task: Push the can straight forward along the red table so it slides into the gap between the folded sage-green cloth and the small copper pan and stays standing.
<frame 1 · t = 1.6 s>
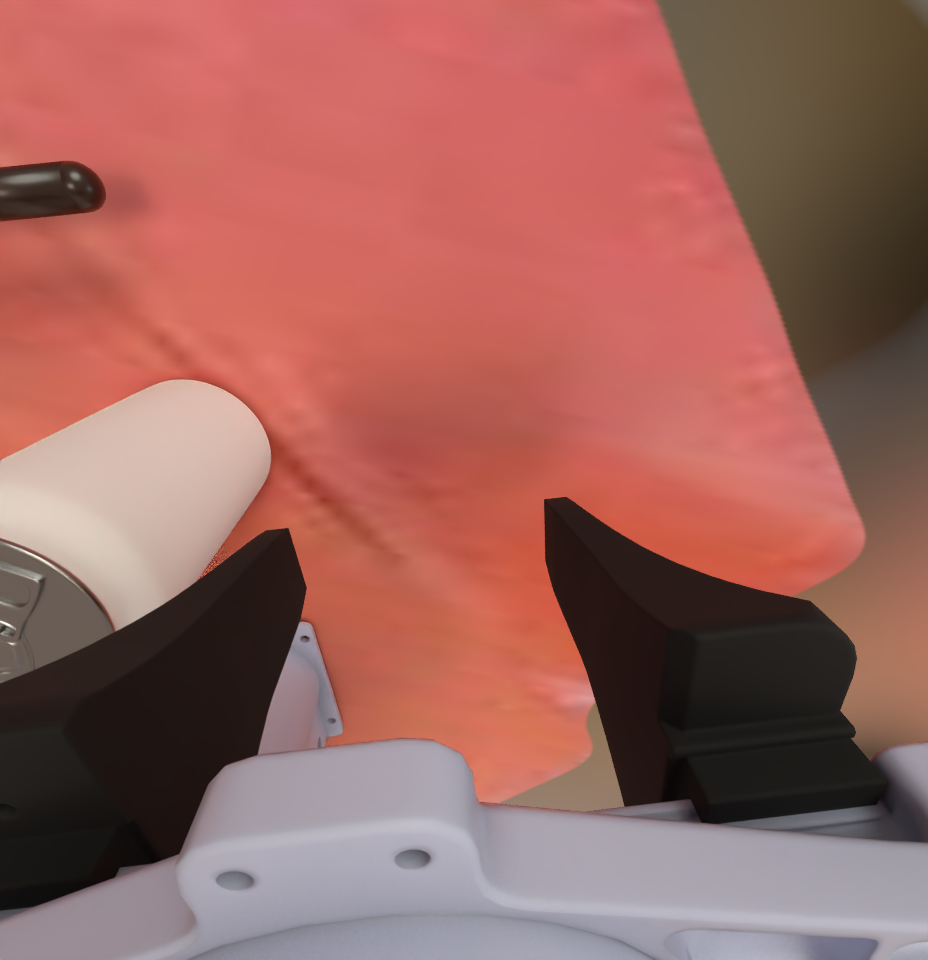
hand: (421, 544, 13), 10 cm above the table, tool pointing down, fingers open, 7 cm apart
can: (204, 443, 22), on the table
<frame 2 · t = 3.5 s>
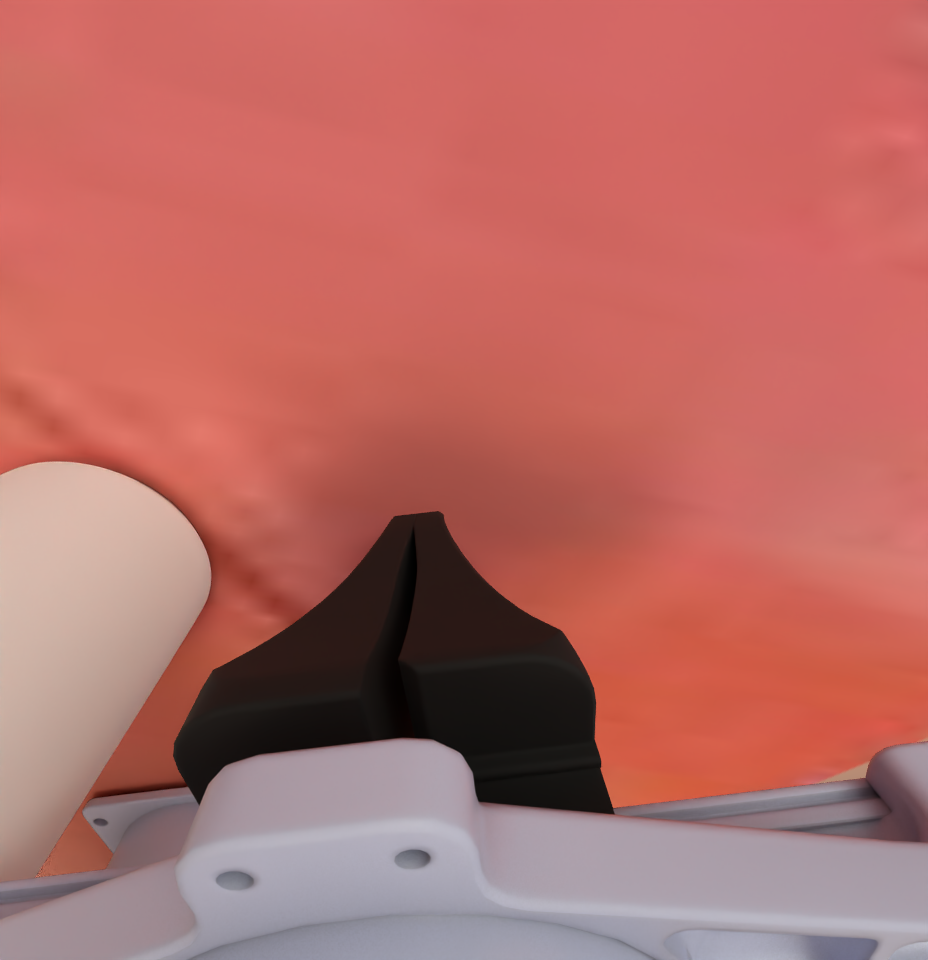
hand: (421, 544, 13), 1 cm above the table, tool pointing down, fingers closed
can: (108, 549, 14), on the table
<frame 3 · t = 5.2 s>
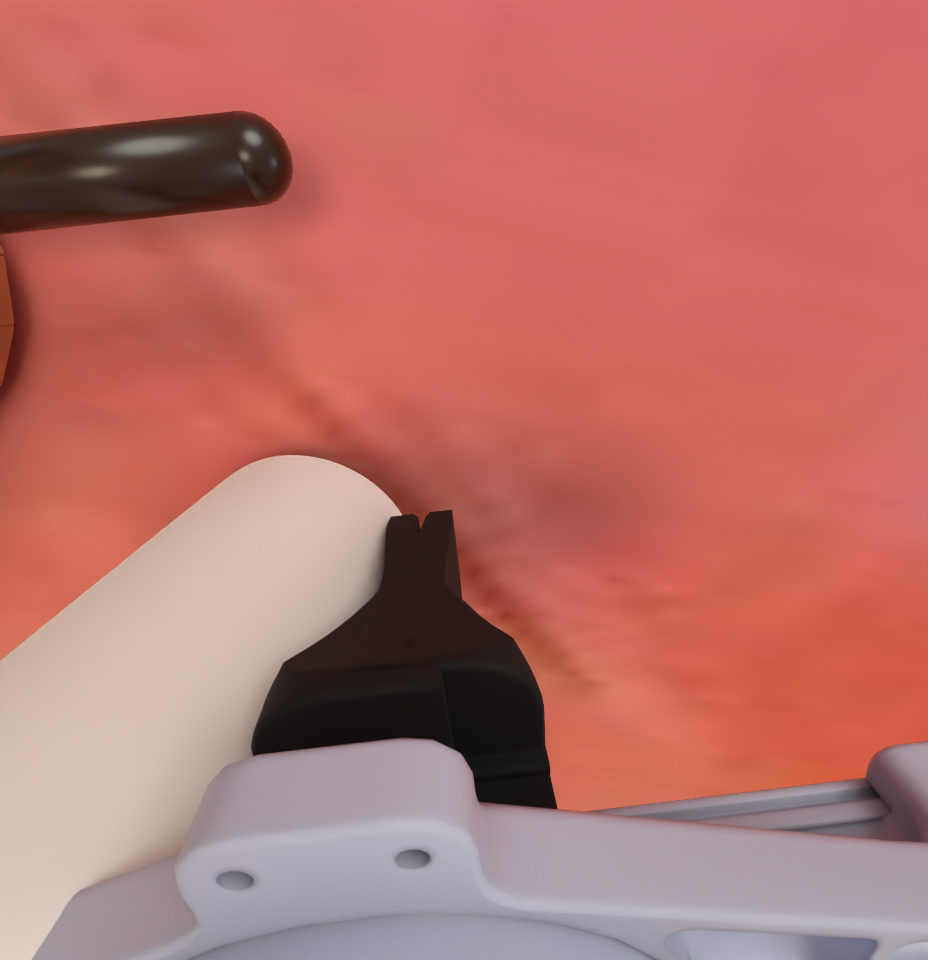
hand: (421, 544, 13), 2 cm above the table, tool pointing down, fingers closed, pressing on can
can: (318, 541, 15), on the table, touching gripper
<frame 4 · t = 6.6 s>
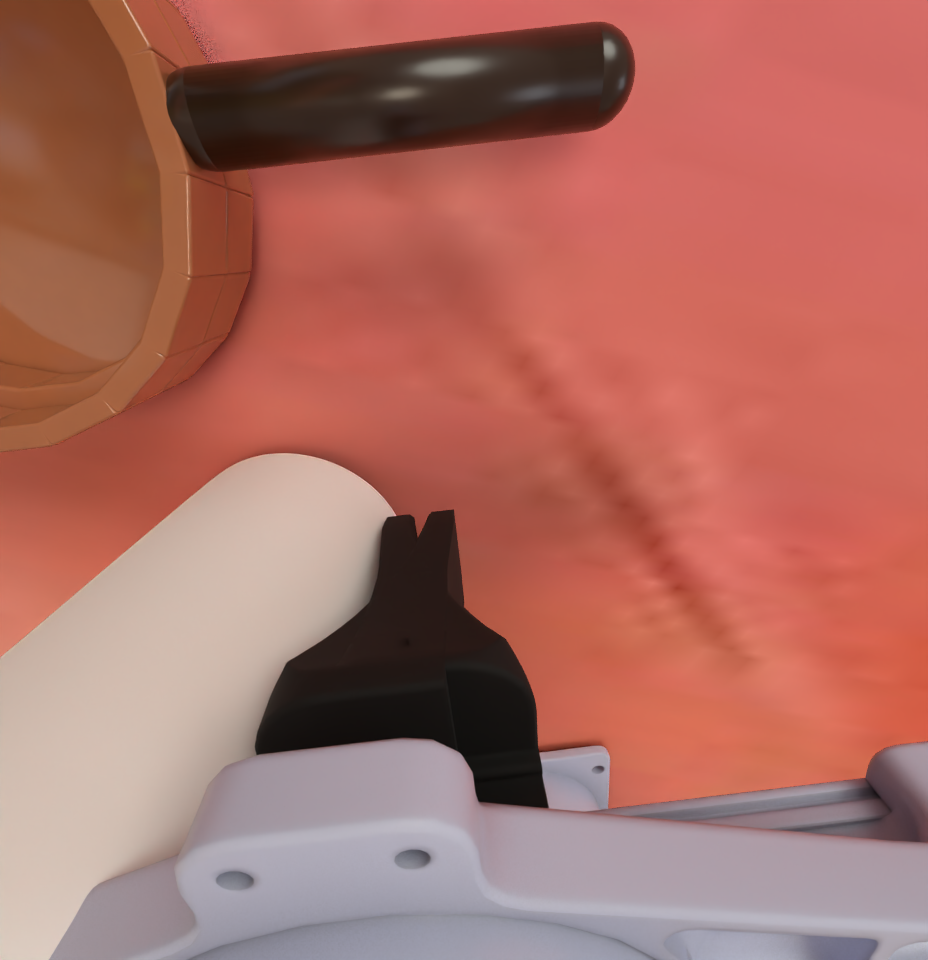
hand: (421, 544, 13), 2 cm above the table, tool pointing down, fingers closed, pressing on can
pan: (26, 183, 11), on the table
can: (308, 541, 15), on the table, touching gripper
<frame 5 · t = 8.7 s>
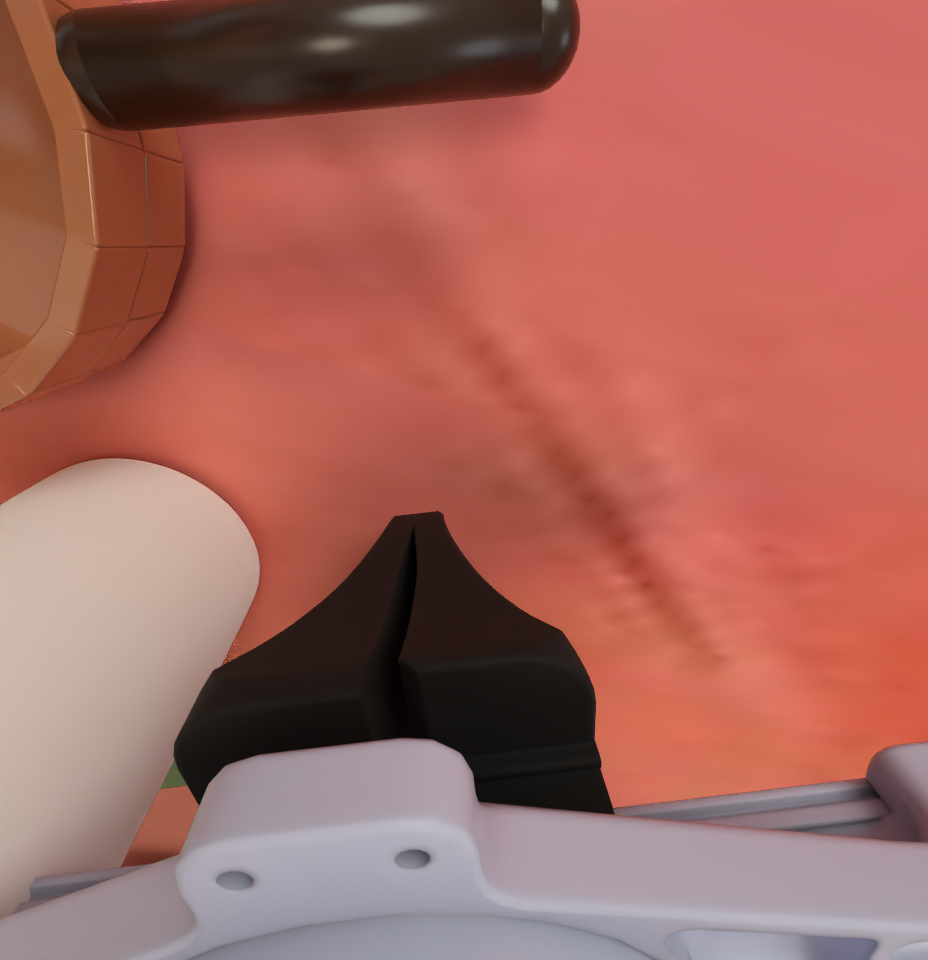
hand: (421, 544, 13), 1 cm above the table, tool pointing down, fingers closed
can: (157, 546, 14), on the table
flat green tile: (204, 725, 18), on the table
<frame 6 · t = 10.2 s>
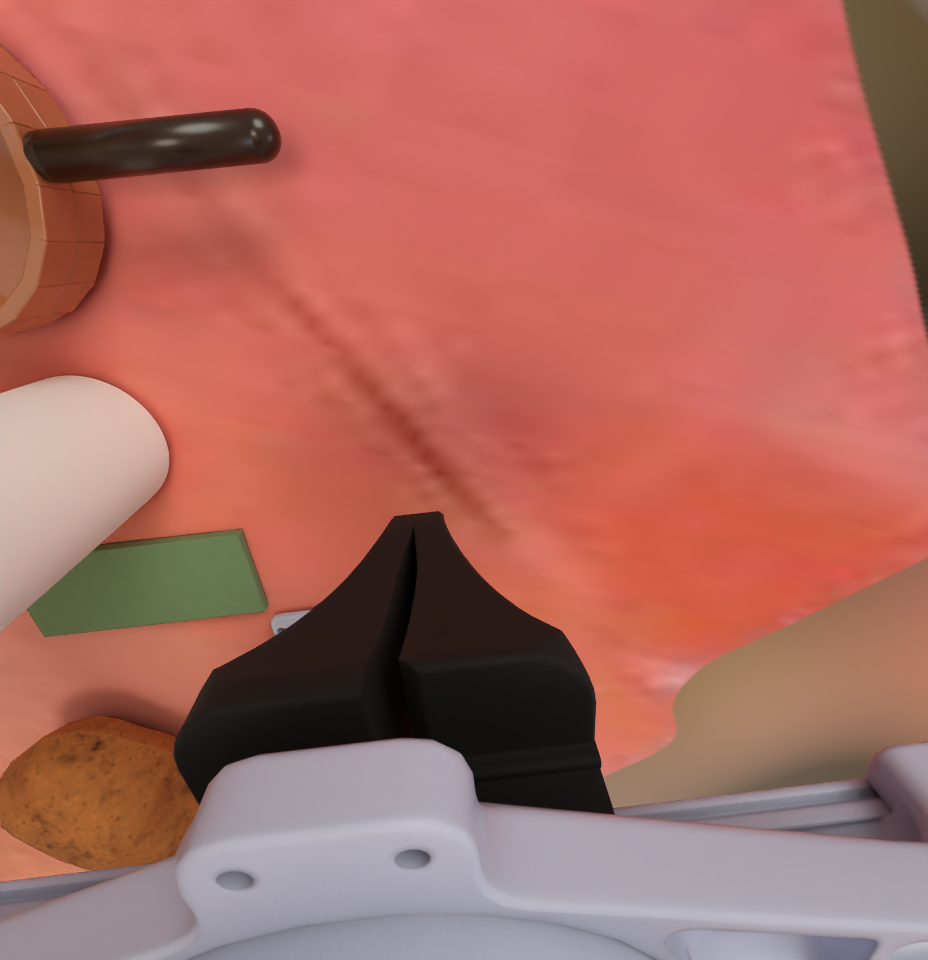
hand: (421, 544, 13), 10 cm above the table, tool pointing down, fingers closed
can: (102, 440, 22), on the table
flat green tile: (143, 581, 25), on the table
potato: (161, 744, 31), on the table
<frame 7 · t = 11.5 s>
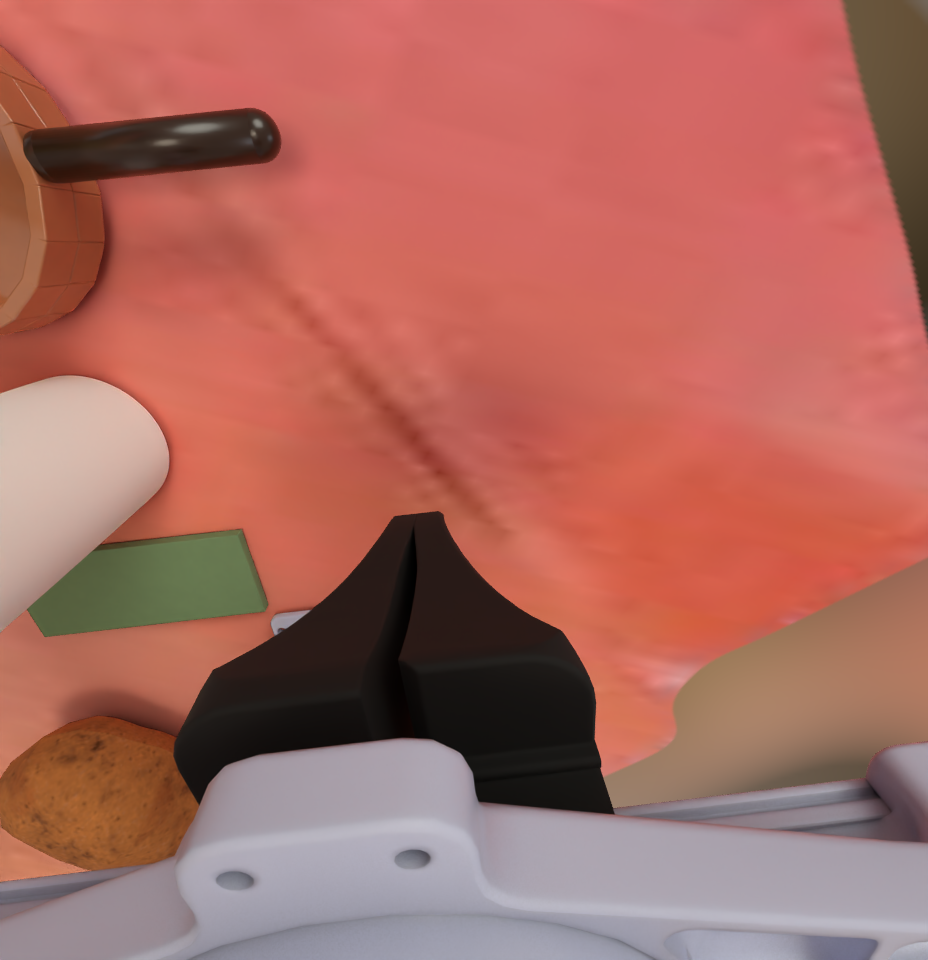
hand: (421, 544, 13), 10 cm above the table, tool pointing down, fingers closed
can: (102, 440, 22), on the table
flat green tile: (143, 581, 25), on the table
potato: (161, 744, 31), on the table
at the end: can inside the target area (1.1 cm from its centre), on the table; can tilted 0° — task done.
